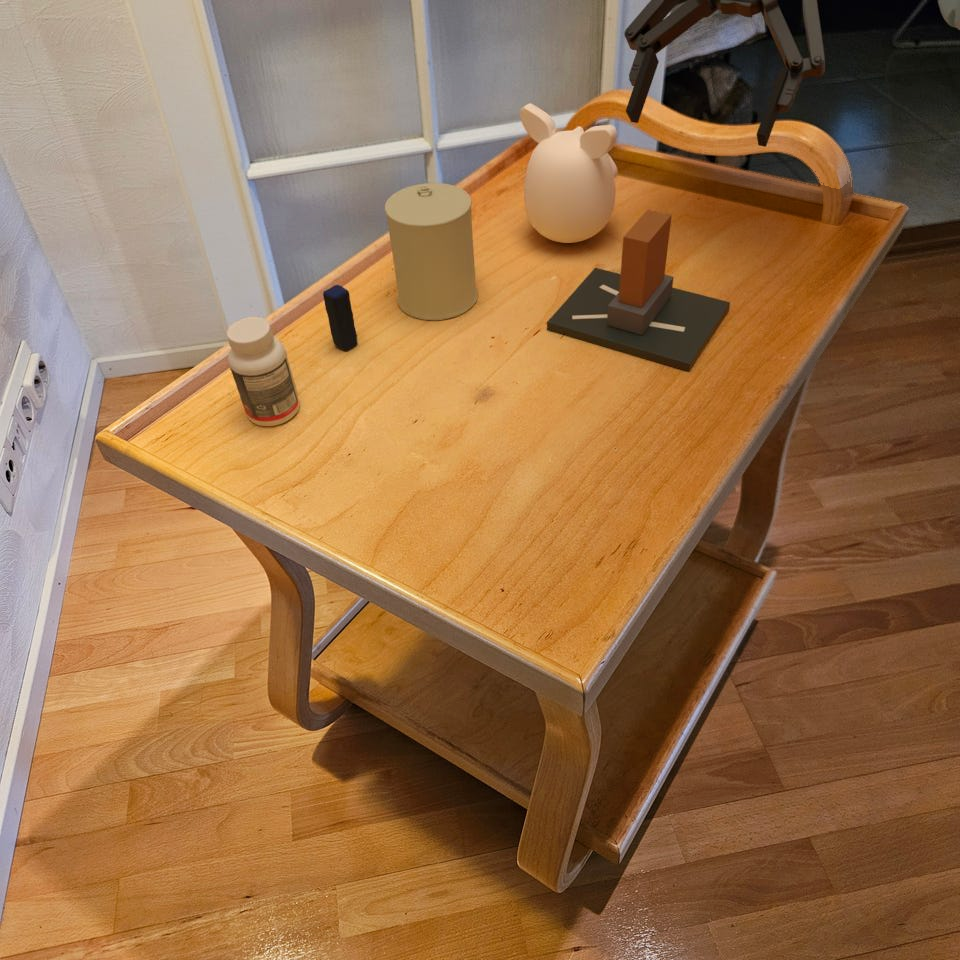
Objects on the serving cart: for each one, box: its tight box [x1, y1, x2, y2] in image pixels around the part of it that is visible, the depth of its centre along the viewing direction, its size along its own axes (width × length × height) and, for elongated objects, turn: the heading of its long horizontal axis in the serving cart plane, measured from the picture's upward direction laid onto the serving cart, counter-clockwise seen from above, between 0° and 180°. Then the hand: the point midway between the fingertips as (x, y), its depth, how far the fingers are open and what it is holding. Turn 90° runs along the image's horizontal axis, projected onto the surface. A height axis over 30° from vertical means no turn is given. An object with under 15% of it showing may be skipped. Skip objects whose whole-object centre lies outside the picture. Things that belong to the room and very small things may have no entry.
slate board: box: [546, 267, 731, 372], centre depth 89 cm, size 16×12×1 cm
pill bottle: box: [226, 316, 301, 427], centre depth 79 cm, size 5×5×10 cm
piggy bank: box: [519, 102, 619, 244], centre depth 97 cm, size 12×12×15 cm
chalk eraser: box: [607, 208, 675, 335], centre depth 85 cm, size 4×8×10 cm, turn 149°
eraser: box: [322, 284, 358, 352], centre depth 87 cm, size 2×2×7 cm
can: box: [384, 182, 479, 321], centre depth 90 cm, size 9×9×12 cm
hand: (694, 129), depth 84 cm, fingers open, 13 cm apart
